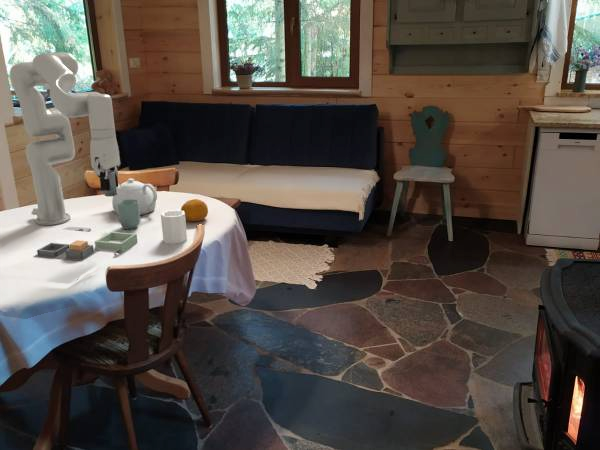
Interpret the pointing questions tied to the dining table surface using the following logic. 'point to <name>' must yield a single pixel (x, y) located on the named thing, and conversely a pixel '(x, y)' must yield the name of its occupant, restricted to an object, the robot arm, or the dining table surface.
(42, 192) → the robot arm
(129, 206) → the cup
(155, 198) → the teapot
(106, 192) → the cylinder
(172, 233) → the mug
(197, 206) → the fruit
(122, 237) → the green square tray
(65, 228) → the handheld gaming console
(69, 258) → the grey two-pocket panel
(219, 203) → the dining table surface
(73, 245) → the orange block
